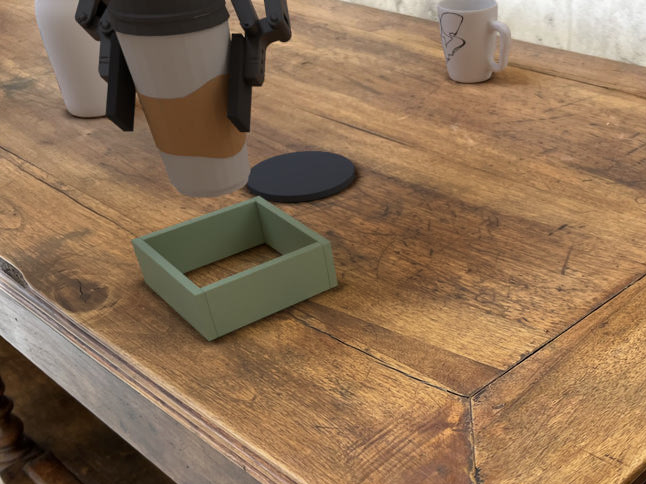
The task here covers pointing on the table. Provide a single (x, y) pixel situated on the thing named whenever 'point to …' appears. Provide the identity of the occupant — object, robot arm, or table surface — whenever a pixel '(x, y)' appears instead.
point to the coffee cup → (185, 89)
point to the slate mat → (300, 176)
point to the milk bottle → (72, 57)
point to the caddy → (242, 288)
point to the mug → (472, 39)
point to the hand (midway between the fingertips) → (179, 124)
